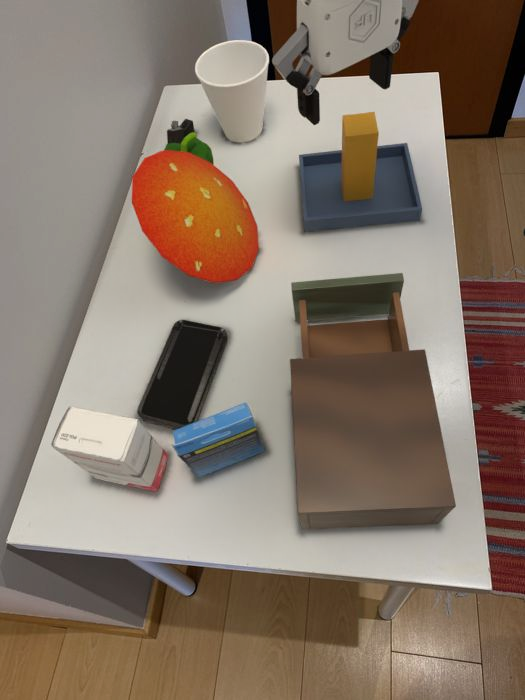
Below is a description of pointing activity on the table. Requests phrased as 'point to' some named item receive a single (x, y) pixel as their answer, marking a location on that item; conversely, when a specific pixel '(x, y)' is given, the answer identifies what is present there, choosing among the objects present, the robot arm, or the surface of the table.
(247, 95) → the cup
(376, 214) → the tray
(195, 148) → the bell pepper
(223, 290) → the table surface
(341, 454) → the cabinet
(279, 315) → the table surface
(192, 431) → the label tape box
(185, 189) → the toy strawberry
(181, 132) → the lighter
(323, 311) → the drawer
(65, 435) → the ink box
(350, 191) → the block
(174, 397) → the phone
